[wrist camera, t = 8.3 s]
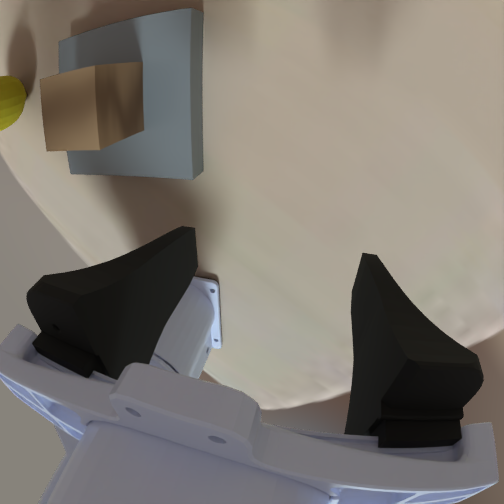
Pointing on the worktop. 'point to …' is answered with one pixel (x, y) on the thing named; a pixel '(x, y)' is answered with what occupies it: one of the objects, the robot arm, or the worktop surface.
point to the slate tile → (149, 93)
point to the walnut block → (92, 106)
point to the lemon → (10, 100)
